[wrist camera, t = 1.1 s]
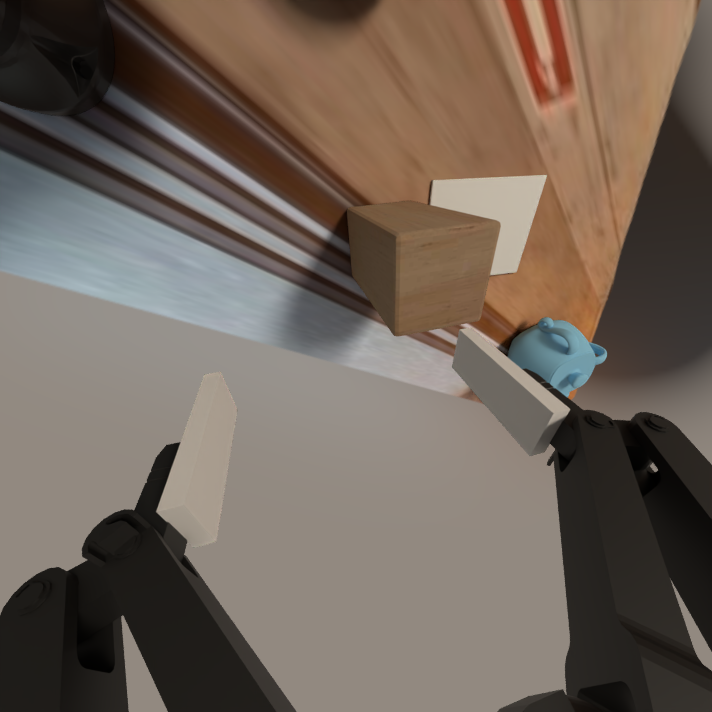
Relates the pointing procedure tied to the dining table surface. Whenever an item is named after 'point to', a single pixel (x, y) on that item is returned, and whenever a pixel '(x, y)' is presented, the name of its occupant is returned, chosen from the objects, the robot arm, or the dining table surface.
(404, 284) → the wooden block
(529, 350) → the decorative pot
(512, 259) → the mat
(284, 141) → the dining table surface
